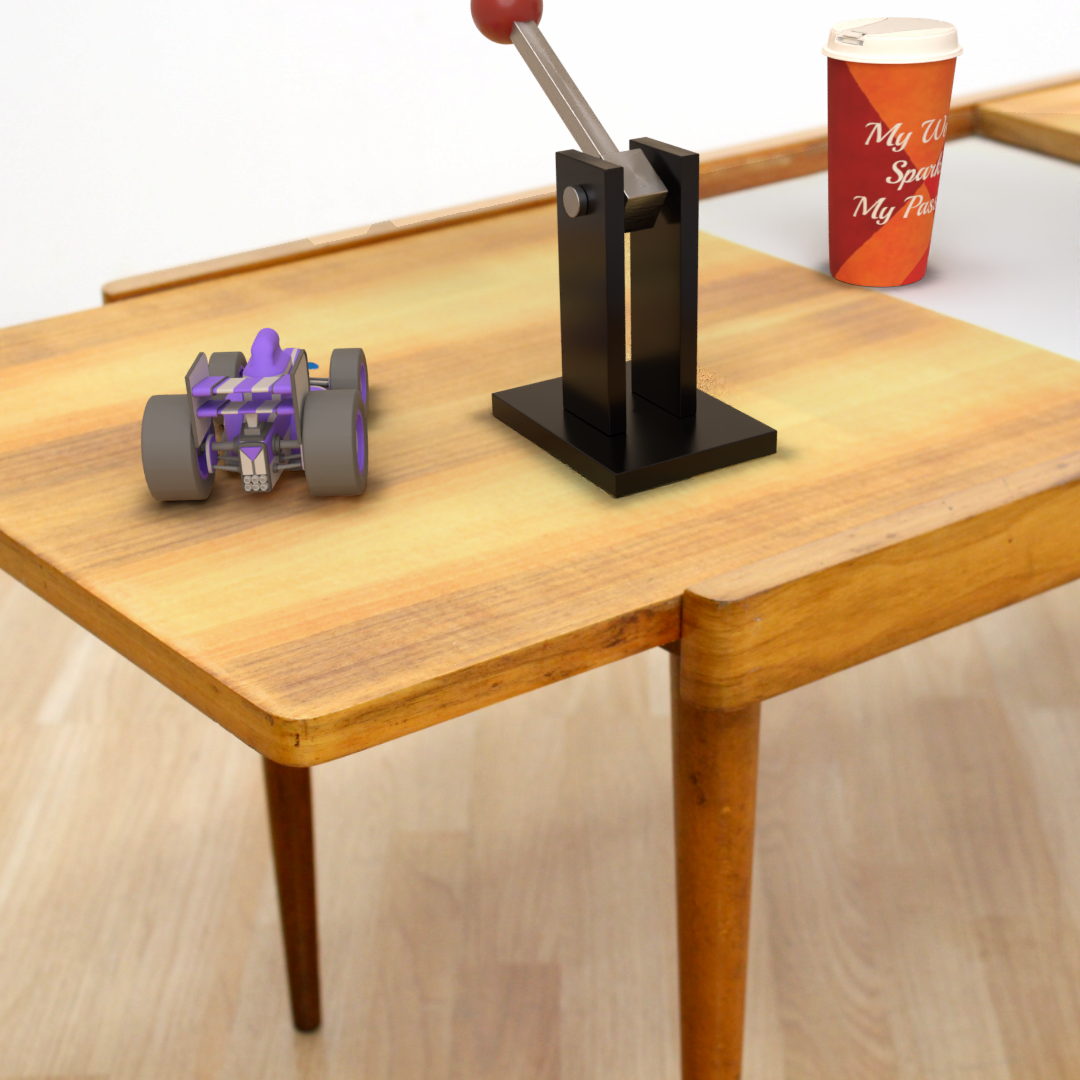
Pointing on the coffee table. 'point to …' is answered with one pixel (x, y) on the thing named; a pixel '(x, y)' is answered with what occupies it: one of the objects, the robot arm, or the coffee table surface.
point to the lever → (571, 103)
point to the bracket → (656, 339)
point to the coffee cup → (886, 144)
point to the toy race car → (260, 423)
